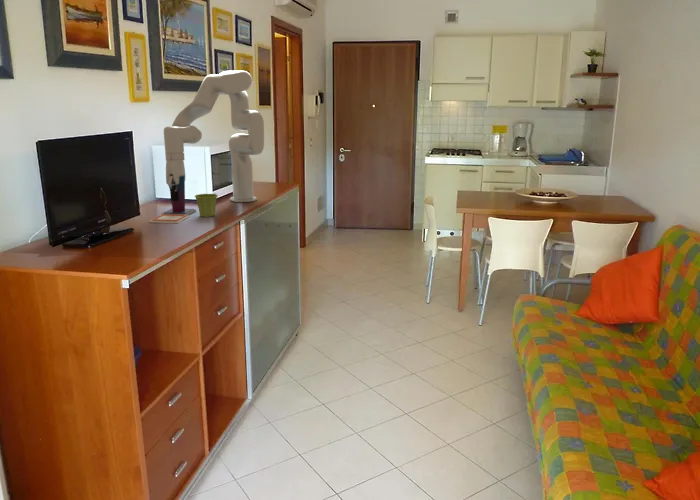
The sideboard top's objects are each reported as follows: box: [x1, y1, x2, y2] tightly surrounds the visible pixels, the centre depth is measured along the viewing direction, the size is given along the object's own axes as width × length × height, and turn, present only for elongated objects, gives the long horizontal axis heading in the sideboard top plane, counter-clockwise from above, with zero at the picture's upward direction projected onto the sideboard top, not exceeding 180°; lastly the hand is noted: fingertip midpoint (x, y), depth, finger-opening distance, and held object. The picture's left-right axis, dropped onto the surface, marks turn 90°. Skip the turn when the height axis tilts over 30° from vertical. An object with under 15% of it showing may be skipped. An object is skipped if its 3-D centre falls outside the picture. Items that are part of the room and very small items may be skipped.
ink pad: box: [160, 208, 197, 216], centre depth 242 cm, size 11×11×1 cm
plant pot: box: [194, 193, 219, 218], centre depth 237 cm, size 9×9×9 cm
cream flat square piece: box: [148, 214, 190, 224], centre depth 230 cm, size 12×12×1 cm
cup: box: [169, 174, 186, 212], centre depth 240 cm, size 7×7×15 cm
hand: (178, 198), depth 240 cm, fingers closed on cup, 6 cm apart
